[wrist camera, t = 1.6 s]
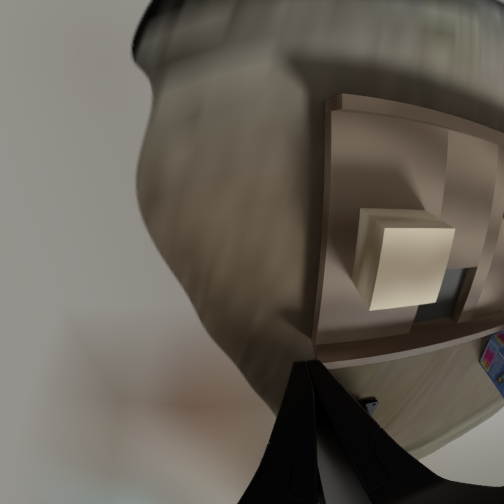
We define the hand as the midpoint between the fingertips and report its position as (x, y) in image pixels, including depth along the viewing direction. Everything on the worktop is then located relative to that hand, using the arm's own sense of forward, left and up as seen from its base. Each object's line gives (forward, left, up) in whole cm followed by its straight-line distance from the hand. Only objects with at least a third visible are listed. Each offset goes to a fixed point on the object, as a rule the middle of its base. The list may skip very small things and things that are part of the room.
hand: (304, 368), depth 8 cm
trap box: (0, -17, -11) cm, 21 cm away
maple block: (0, -7, -9) cm, 12 cm away
